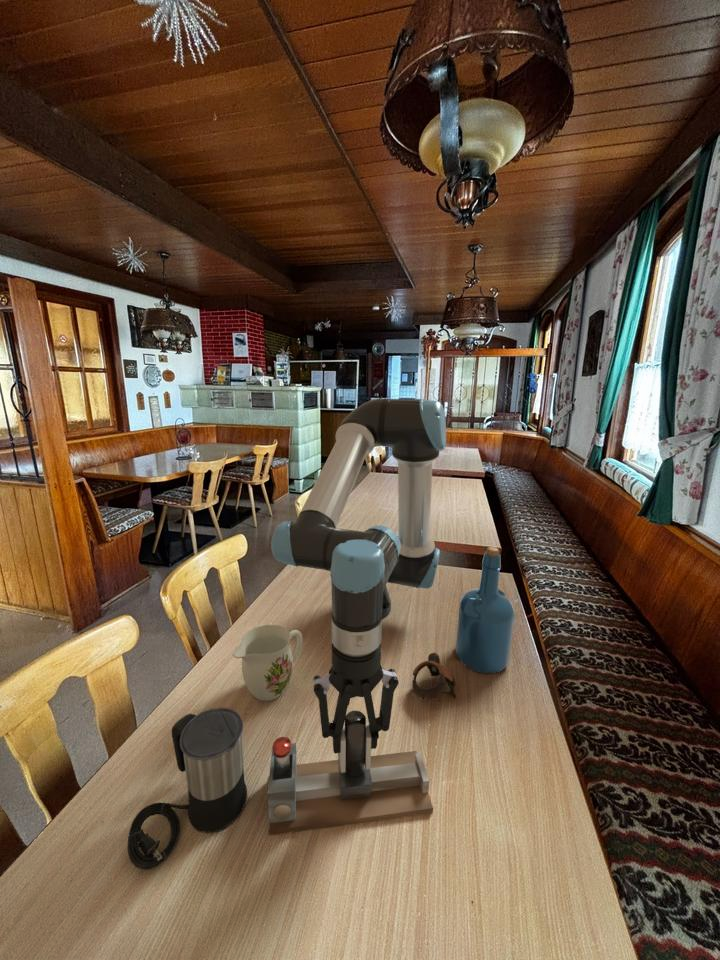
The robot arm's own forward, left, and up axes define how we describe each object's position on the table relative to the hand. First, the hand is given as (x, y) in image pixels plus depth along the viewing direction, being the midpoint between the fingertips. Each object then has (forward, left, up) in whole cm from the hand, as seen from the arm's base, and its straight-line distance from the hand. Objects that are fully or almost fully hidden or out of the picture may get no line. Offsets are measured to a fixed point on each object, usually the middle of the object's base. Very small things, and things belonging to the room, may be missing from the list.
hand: (354, 762), depth 64 cm
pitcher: (-25, -16, -6) cm, 30 cm away
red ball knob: (0, -12, 0) cm, 12 cm away
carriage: (0, 0, -5) cm, 5 cm away
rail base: (0, -1, -6) cm, 6 cm away
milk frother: (+1, -26, -6) cm, 27 cm away
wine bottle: (-29, +36, -6) cm, 47 cm away
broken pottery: (-20, +21, -6) cm, 30 cm away
